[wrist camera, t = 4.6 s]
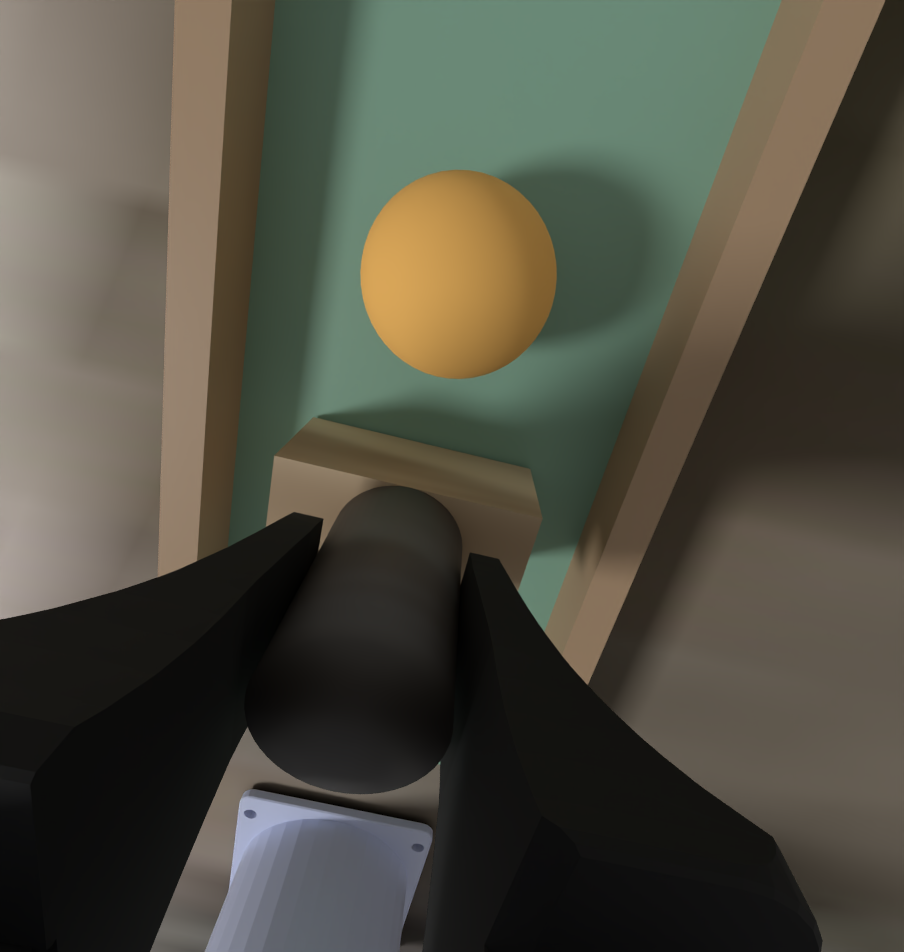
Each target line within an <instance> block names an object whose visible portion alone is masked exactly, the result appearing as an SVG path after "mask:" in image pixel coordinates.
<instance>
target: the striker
mask: <svg viewBox="0 0 904 952" xmlns="http://www.w3.org/2000/svg"><path fill="white" fill-rule="evenodd" d="M293 512H297V513H302V514H306V515H310V516H315V517H319V518H323V519H324V520H323V526H322V532H321V538H320V544H319V551H318V553H317V555H316V557H315V559H314V561H313V563H312V565H311V566H310V568H309V570H308V572H307V574H306V576H305V578H304V579H303V581H302V583H301V585H300V587H299V589H298V591H297V592H296V594H295V596H294V598H293V600H292V602H291V604H290V606H289V607H288V609H287V611H286V613H285V615H284V617H283V619H282V620H281V622H280V624H279V626H278V628H277V630H276V632H275V633H274V635H273V637H272V639H271V641H270V643H269V645H268V646H267V648H266V650H265V652H264V654H263V656H262V658H261V660H260V661H259V663H258V665H257V667H256V669H255V671H254V673H253V674H252V676H251V678H250V681H249V683H248V686H247V688H246V693H245V698H244V711H245V718H246V722H247V725H248V728H249V731H250V733H251V735H252V737H253V739H254V740H255V742H256V743H257V745H258V746H259V748H260V749H261V750H262V751H263V752H264V754H265V755H266V756H267V757H268V758H269V759H270V760H271V761H272V762H273V763H275V764H276V765H277V766H278V767H280V768H281V769H282V770H284V771H285V772H287V773H288V774H290V775H292V776H293V777H295V778H297V779H299V780H301V781H303V782H305V783H308V784H310V785H313V786H316V787H319V788H322V789H326V790H330V791H334V792H341V793H349V794H373V793H381V792H387V791H391V790H395V789H398V788H401V787H404V786H407V785H409V784H411V783H413V782H415V781H417V780H419V779H420V778H422V777H423V776H425V775H426V774H428V773H429V772H430V771H431V770H432V769H433V768H435V766H436V765H437V764H438V763H439V762H440V761H441V759H442V758H443V756H444V755H445V753H446V752H447V749H448V747H449V745H450V742H451V738H452V734H453V720H454V701H455V681H456V662H457V642H458V623H459V603H460V585H461V581H462V578H463V574H464V571H465V568H466V564H467V561H468V557H469V554H470V552H471V553H476V554H480V555H484V556H489V557H493V558H497V559H499V560H500V562H501V563H502V565H503V567H504V568H505V570H506V572H507V574H508V575H509V577H510V579H511V580H512V582H513V584H514V586H515V587H516V589H517V591H518V590H519V587H520V584H521V581H522V578H523V575H524V572H525V569H526V566H527V563H528V560H529V557H530V554H531V551H532V548H533V545H534V543H535V540H536V537H537V534H538V531H539V528H540V525H541V522H542V519H543V518H542V514H541V510H540V506H539V502H538V498H537V494H536V490H535V486H534V482H533V478H532V474H531V470H530V469H529V468H524V467H520V466H516V465H512V464H508V463H504V462H499V461H495V460H491V459H487V458H483V457H478V456H474V455H470V454H466V453H462V452H457V451H453V450H449V449H445V448H441V447H437V446H432V445H428V444H424V443H420V442H416V441H411V440H407V439H403V438H399V437H395V436H390V435H386V434H382V433H378V432H374V431H370V430H365V429H361V428H357V427H353V426H349V425H344V424H340V423H336V422H332V421H328V420H324V419H319V418H315V417H313V418H312V419H311V420H310V421H309V422H308V423H307V424H306V425H305V426H304V427H303V428H302V429H301V430H300V431H299V432H298V433H297V434H296V435H295V436H294V437H293V438H292V439H291V440H290V441H289V442H288V443H287V444H286V445H285V446H284V447H282V448H281V449H280V450H279V451H278V452H277V453H276V454H275V455H274V462H273V470H272V479H271V487H270V496H269V505H268V513H267V522H266V527H267V526H269V525H270V524H272V523H274V522H276V521H278V520H279V519H281V518H283V517H285V516H287V515H289V514H291V513H293Z"/></svg>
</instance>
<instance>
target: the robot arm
mask: <svg viewBox="0 0 904 952" xmlns="http://www.w3.org/2000/svg"><path fill="white" fill-rule="evenodd" d="M323 520H324V519H323V518H319V517H315V516H310V515H306V514H302V513H297V512H293V513H291V514H289V515H287V516H285V517H283V518H281V519H279V520H278V521H276V522H274V523H272V524H270V525H269V526H267V527H265V528H263V529H261V530H259V531H258V532H256V533H254V534H252V535H250V536H248V537H246V538H244V539H242V540H240V541H238V542H236V543H235V544H233V545H231V546H229V547H227V548H225V549H222V550H220V551H218V552H216V553H214V554H211V555H209V556H207V557H205V558H203V559H200V560H198V561H196V562H194V563H192V564H189V565H187V566H185V567H183V568H180V569H178V570H175V571H173V572H170V573H168V574H165V575H162V576H160V577H157V578H154V579H151V580H149V581H146V582H143V583H140V584H137V585H134V586H131V587H128V588H125V589H122V590H119V591H116V592H112V593H108V594H105V595H101V596H97V597H94V598H90V599H86V600H83V601H79V602H75V603H72V604H68V605H64V606H61V607H57V608H53V609H49V610H44V611H40V612H35V613H30V614H26V615H21V616H17V617H12V618H7V619H1V620H0V952H150V950H151V948H152V945H153V943H154V940H155V938H156V935H157V933H158V930H159V928H160V925H161V923H162V921H163V918H164V916H165V913H166V911H167V908H168V906H169V903H170V901H171V898H172V896H173V893H174V891H175V888H176V886H177V884H178V881H179V879H180V876H181V874H182V871H183V869H184V867H185V864H186V862H187V860H188V857H189V855H190V852H191V850H192V848H193V845H194V843H195V841H196V838H197V836H198V833H199V831H200V829H201V826H202V824H203V821H204V819H205V817H206V814H207V812H208V810H209V807H210V805H211V803H212V801H213V798H214V796H215V794H216V791H217V789H218V787H219V784H220V782H221V780H222V778H223V775H224V773H225V771H226V768H227V766H228V764H229V761H230V759H231V757H232V755H233V753H234V751H235V749H236V747H237V745H238V743H239V741H240V739H241V738H242V736H243V734H244V732H245V730H246V728H247V727H248V725H247V722H246V718H245V711H244V698H245V693H246V688H247V686H248V683H249V681H250V678H251V676H252V674H253V673H254V671H255V669H256V667H257V665H258V663H259V661H260V660H261V658H262V656H263V654H264V652H265V650H266V648H267V646H268V645H269V643H270V641H271V639H272V637H273V635H274V633H275V632H276V630H277V628H278V626H279V624H280V622H281V620H282V619H283V617H284V615H285V613H286V611H287V609H288V607H289V606H290V604H291V602H292V600H293V598H294V596H295V594H296V592H297V591H298V589H299V587H300V585H301V583H302V581H303V579H304V578H305V576H306V574H307V572H308V570H309V568H310V566H311V565H312V563H313V561H314V559H315V557H316V555H317V553H318V551H319V544H320V538H321V532H322V526H323ZM432 836H433V830H432V829H431V827H429V826H428V825H426V824H423V823H419V822H414V821H409V820H404V819H399V818H394V817H389V816H384V815H379V814H375V813H370V812H365V811H360V810H355V809H350V808H345V807H340V806H335V805H330V804H325V803H321V802H316V801H311V800H306V799H301V798H296V797H291V796H286V795H281V794H276V793H271V792H267V791H262V790H257V789H250V790H247V791H245V792H244V794H243V796H242V798H241V800H240V803H239V812H238V820H237V828H236V836H235V844H234V852H233V861H232V869H231V877H230V885H229V891H228V894H227V897H226V899H225V902H224V904H223V907H222V909H221V912H220V914H219V917H218V920H217V922H216V925H215V927H214V930H213V932H212V935H211V937H210V940H209V943H208V945H207V948H206V950H205V952H399V950H400V942H401V933H402V929H403V926H404V923H405V920H406V917H407V914H408V911H409V908H410V905H411V902H412V899H413V896H414V893H415V890H416V887H417V884H418V881H419V879H420V876H421V873H422V870H423V867H424V864H425V861H426V858H427V855H428V852H429V849H430V846H431V843H432ZM821 947H822V938H821V934H820V931H819V928H818V925H817V922H816V920H815V918H814V916H813V914H812V912H811V910H810V908H809V906H808V904H807V902H806V900H805V898H804V896H803V894H802V892H801V890H800V888H799V886H798V884H797V882H796V880H795V878H794V876H793V874H792V872H791V871H790V869H789V867H788V865H787V863H786V861H785V859H784V857H783V855H782V853H781V851H780V849H779V847H778V846H777V844H776V842H775V840H774V838H773V837H772V836H770V835H769V834H768V833H766V832H765V831H763V830H762V829H760V828H759V827H758V826H756V825H755V824H753V823H752V822H751V821H749V820H748V819H746V818H745V817H743V816H742V815H741V814H739V813H738V812H736V811H735V810H733V809H732V808H731V807H729V806H728V805H726V804H725V803H723V802H722V801H721V800H719V799H718V798H716V797H715V796H713V795H712V794H711V793H709V792H708V791H706V790H705V789H704V788H702V787H701V786H700V785H698V784H697V783H696V782H694V781H693V780H692V779H691V778H689V777H688V776H687V775H686V774H684V773H683V772H682V771H681V770H679V769H678V768H677V767H676V766H674V765H673V764H672V763H671V762H669V761H668V760H667V759H666V758H664V757H663V756H662V755H661V754H660V753H658V752H657V751H656V750H655V749H654V748H653V747H651V746H650V745H649V744H648V743H647V742H646V741H644V740H643V739H642V738H641V737H640V736H639V735H638V734H637V733H635V732H634V731H633V730H632V729H631V728H630V727H629V726H628V725H627V724H626V723H625V722H624V721H623V720H622V719H621V718H619V717H618V716H617V715H616V714H615V713H614V712H613V711H612V710H611V709H610V708H609V707H608V706H607V705H606V704H605V703H604V702H603V701H602V700H601V699H600V698H599V697H598V696H597V695H596V694H595V693H594V692H593V690H592V689H591V688H590V687H589V686H588V685H587V684H586V683H585V682H584V680H583V679H582V678H581V677H580V676H579V675H578V674H577V673H576V672H575V670H574V669H573V668H572V667H571V666H570V665H569V663H568V662H567V661H566V660H565V659H564V657H563V656H562V655H561V653H560V652H559V651H558V649H557V648H556V647H555V646H554V644H553V643H552V642H551V640H550V639H549V638H548V636H547V635H546V634H545V632H544V631H543V629H542V628H541V626H540V625H539V624H538V622H537V621H536V619H535V618H534V616H533V615H532V613H531V612H530V610H529V609H528V607H527V605H526V604H525V602H524V601H523V599H522V597H521V596H520V594H519V592H518V591H517V589H516V587H515V586H514V584H513V582H512V580H511V579H510V577H509V575H508V574H507V572H506V570H505V568H504V567H503V565H502V563H501V562H500V560H499V559H497V558H493V557H489V556H484V555H480V554H476V553H471V552H470V554H469V557H468V561H467V564H466V568H465V571H464V574H463V578H462V581H461V585H460V603H459V623H458V642H457V662H456V681H455V701H454V720H453V734H452V738H451V742H450V745H449V747H448V749H447V752H446V753H445V755H444V756H443V758H442V759H441V761H440V792H439V808H438V818H437V827H436V837H435V846H434V856H433V865H432V874H431V883H430V892H429V901H428V909H427V918H426V927H425V935H424V943H423V951H422V952H821Z"/></svg>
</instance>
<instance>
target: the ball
mask: <svg viewBox="0 0 904 952" xmlns="http://www.w3.org/2000/svg"><path fill="white" fill-rule="evenodd" d="M360 274H361V290H362V296H363V301H364V304H365V308H366V311H367V314H368V316H369V319H370V321H371V323H372V325H373V327H374V329H375V330H376V332H377V334H378V335H379V337H380V338H381V339H382V341H383V342H384V343H385V345H386V346H387V347H388V348H389V349H390V350H391V351H392V352H393V353H394V354H395V355H396V356H398V357H399V358H400V359H401V360H402V361H404V362H405V363H407V364H409V365H410V366H412V367H413V368H415V369H418V370H420V371H422V372H424V373H427V374H430V375H433V376H437V377H442V378H449V379H465V378H474V377H478V376H483V375H486V374H489V373H492V372H494V371H497V370H499V369H500V368H502V367H504V366H506V365H508V364H509V363H511V362H512V361H514V360H515V359H517V358H518V357H519V356H520V355H521V354H522V353H523V352H524V351H526V350H527V348H528V347H529V346H530V345H531V344H532V343H533V342H534V340H535V339H536V337H537V336H538V334H539V333H540V331H541V330H542V328H543V326H544V324H545V322H546V320H547V318H548V316H549V313H550V310H551V308H552V304H553V300H554V296H555V290H556V281H557V268H556V258H555V251H554V248H553V244H552V240H551V237H550V235H549V232H548V230H547V228H546V225H545V223H544V222H543V220H542V218H541V217H540V215H539V213H538V212H537V210H536V209H535V208H534V207H533V205H532V204H531V203H530V202H529V201H528V200H527V199H526V198H525V197H524V196H523V195H522V194H521V193H520V192H519V191H518V190H516V189H515V188H513V187H512V186H511V185H509V184H508V183H506V182H504V181H502V180H500V179H498V178H496V177H494V176H491V175H488V174H485V173H482V172H476V171H471V170H448V171H440V172H437V173H433V174H429V175H427V176H424V177H422V178H420V179H417V180H415V181H414V182H412V183H410V184H409V185H407V186H405V187H404V188H403V189H401V190H400V191H399V192H398V193H397V194H395V195H394V196H393V197H392V198H391V199H390V200H389V201H388V203H387V204H386V205H385V206H384V207H383V208H382V210H381V211H380V213H379V214H378V216H377V217H376V219H375V221H374V223H373V225H372V227H371V229H370V230H369V233H368V236H367V239H366V242H365V245H364V249H363V254H362V260H361V270H360Z"/></svg>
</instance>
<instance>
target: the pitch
mask: <svg viewBox="0 0 904 952" xmlns="http://www.w3.org/2000/svg"><path fill="white" fill-rule="evenodd" d="M884 2H885V0H175V16H174V49H173V83H172V117H171V150H170V184H169V218H168V252H167V285H166V319H165V353H164V386H163V420H162V454H161V488H160V521H159V555H158V577H160V576H162V575H165V574H168V573H170V572H173V571H175V570H178V569H180V568H183V567H185V566H187V565H189V564H192V563H194V562H196V561H198V560H200V559H203V558H205V557H207V556H209V555H211V554H214V553H216V552H218V551H220V550H222V549H225V548H227V547H229V546H231V545H233V544H235V543H236V542H238V541H240V540H242V539H244V538H246V537H248V536H250V535H252V534H254V533H256V532H258V531H259V530H261V529H263V528H265V527H266V522H267V513H268V505H269V496H270V487H271V479H272V470H273V462H274V455H275V454H276V453H277V452H278V451H279V450H280V449H281V448H282V447H284V446H285V445H286V444H287V443H288V442H289V441H290V440H291V439H292V438H293V437H294V436H295V435H296V434H297V433H298V432H299V431H300V430H301V429H302V428H303V427H304V426H305V425H306V424H307V423H308V422H309V421H310V420H311V419H312V418H313V417H315V418H319V419H324V420H328V421H332V422H336V423H340V424H344V425H349V426H353V427H357V428H361V429H365V430H370V431H374V432H378V433H382V434H386V435H390V436H395V437H399V438H403V439H407V440H411V441H416V442H420V443H424V444H428V445H432V446H437V447H441V448H445V449H449V450H453V451H457V452H462V453H466V454H470V455H474V456H478V457H483V458H487V459H491V460H495V461H499V462H504V463H508V464H512V465H516V466H520V467H524V468H529V469H530V470H531V474H532V478H533V482H534V486H535V490H536V494H537V498H538V502H539V506H540V510H541V514H542V518H543V519H542V522H541V525H540V528H539V531H538V534H537V537H536V540H535V543H534V545H533V548H532V551H531V554H530V557H529V560H528V563H527V566H526V569H525V572H524V575H523V578H522V581H521V584H520V587H519V590H518V592H519V594H520V596H521V597H522V599H523V601H524V602H525V604H526V605H527V607H528V609H529V610H530V612H531V613H532V615H533V616H534V618H535V619H536V621H537V622H538V624H539V625H540V626H541V628H542V629H543V631H544V632H545V634H546V635H547V636H548V638H549V639H550V640H551V642H552V643H553V644H554V646H555V647H556V648H557V649H558V651H559V652H560V653H561V655H562V656H563V657H564V659H565V660H566V661H567V662H568V663H569V665H570V666H571V667H572V668H573V669H574V670H575V672H576V673H577V674H578V675H579V676H580V677H581V678H582V679H583V680H584V682H585V683H586V684H587V685H588V683H589V681H590V679H591V676H592V674H593V672H594V669H595V667H596V665H597V662H598V660H599V658H600V656H601V653H602V651H603V649H604V646H605V644H606V642H607V639H608V637H609V635H610V633H611V630H612V628H613V626H614V623H615V621H616V619H617V616H618V614H619V612H620V610H621V607H622V605H623V603H624V600H625V598H626V596H627V593H628V591H629V589H630V587H631V584H632V582H633V580H634V577H635V575H636V573H637V570H638V568H639V566H640V564H641V561H642V559H643V557H644V554H645V552H646V550H647V547H648V545H649V543H650V541H651V538H652V536H653V534H654V531H655V529H656V527H657V524H658V522H659V520H660V518H661V515H662V513H663V511H664V508H665V506H666V504H667V501H668V499H669V497H670V495H671V492H672V490H673V488H674V485H675V483H676V481H677V478H678V476H679V474H680V472H681V469H682V467H683V465H684V462H685V460H686V458H687V455H688V453H689V451H690V449H691V446H692V444H693V442H694V439H695V437H696V435H697V432H698V430H699V428H700V426H701V423H702V421H703V419H704V416H705V414H706V412H707V409H708V407H709V405H710V403H711V400H712V398H713V396H714V393H715V391H716V389H717V386H718V384H719V382H720V380H721V377H722V375H723V373H724V370H725V368H726V366H727V363H728V361H729V359H730V357H731V354H732V352H733V350H734V347H735V345H736V343H737V340H738V338H739V336H740V334H741V331H742V329H743V327H744V324H745V322H746V320H747V317H748V315H749V313H750V311H751V308H752V306H753V304H754V301H755V299H756V297H757V294H758V292H759V290H760V288H761V285H762V283H763V281H764V278H765V276H766V274H767V271H768V269H769V267H770V265H771V262H772V260H773V258H774V255H775V253H776V251H777V248H778V246H779V244H780V242H781V239H782V237H783V235H784V232H785V230H786V228H787V225H788V223H789V221H790V219H791V216H792V214H793V212H794V209H795V207H796V205H797V202H798V200H799V198H800V196H801V193H802V191H803V189H804V186H805V184H806V182H807V180H808V177H809V175H810V173H811V170H812V168H813V166H814V163H815V161H816V159H817V157H818V154H819V152H820V150H821V147H822V145H823V143H824V140H825V138H826V136H827V134H828V131H829V129H830V127H831V124H832V122H833V120H834V117H835V115H836V113H837V111H838V108H839V106H840V104H841V101H842V99H843V97H844V94H845V92H846V90H847V88H848V85H849V83H850V81H851V78H852V76H853V74H854V71H855V69H856V67H857V65H858V62H859V60H860V58H861V55H862V53H863V51H864V48H865V46H866V44H867V42H868V39H869V37H870V35H871V32H872V30H873V28H874V25H875V23H876V21H877V19H878V16H879V14H880V12H881V9H882V7H883V5H884ZM448 170H471V171H476V172H482V173H485V174H488V175H491V176H494V177H496V178H498V179H500V180H502V181H504V182H506V183H508V184H509V185H511V186H512V187H513V188H515V189H516V190H518V191H519V192H520V193H521V194H522V195H523V196H524V197H525V198H526V199H527V200H528V201H529V202H530V203H531V204H532V205H533V207H534V208H535V209H536V210H537V212H538V213H539V215H540V217H541V218H542V220H543V222H544V223H545V225H546V228H547V230H548V232H549V235H550V237H551V240H552V244H553V248H554V251H555V258H556V268H557V281H556V290H555V296H554V300H553V304H552V308H551V310H550V313H549V316H548V318H547V320H546V322H545V324H544V326H543V328H542V330H541V331H540V333H539V334H538V336H537V337H536V339H535V340H534V342H533V343H532V344H531V345H530V346H529V347H528V348H527V350H526V351H524V352H523V353H522V354H521V355H520V356H519V357H518V358H517V359H515V360H514V361H512V362H511V363H509V364H508V365H506V366H504V367H502V368H500V369H499V370H497V371H494V372H492V373H489V374H486V375H483V376H478V377H474V378H465V379H449V378H442V377H437V376H433V375H430V374H427V373H424V372H422V371H420V370H418V369H415V368H413V367H412V366H410V365H409V364H407V363H405V362H404V361H402V360H401V359H400V358H399V357H398V356H396V355H395V354H394V353H393V352H392V351H391V350H390V349H389V348H388V347H387V346H386V345H385V343H384V342H383V341H382V339H381V338H380V337H379V335H378V334H377V332H376V330H375V329H374V327H373V325H372V323H371V321H370V319H369V316H368V314H367V311H366V308H365V304H364V301H363V296H362V290H361V274H360V270H361V260H362V254H363V249H364V245H365V242H366V239H367V236H368V233H369V230H370V229H371V227H372V225H373V223H374V221H375V219H376V217H377V216H378V214H379V213H380V211H381V210H382V208H383V207H384V206H385V205H386V204H387V203H388V201H389V200H390V199H391V198H392V197H393V196H394V195H395V194H397V193H398V192H399V191H400V190H401V189H403V188H404V187H405V186H407V185H409V184H410V183H412V182H414V181H415V180H417V179H420V178H422V177H424V176H427V175H429V174H433V173H437V172H440V171H448ZM438 764H440V762H439V763H438Z"/></svg>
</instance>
